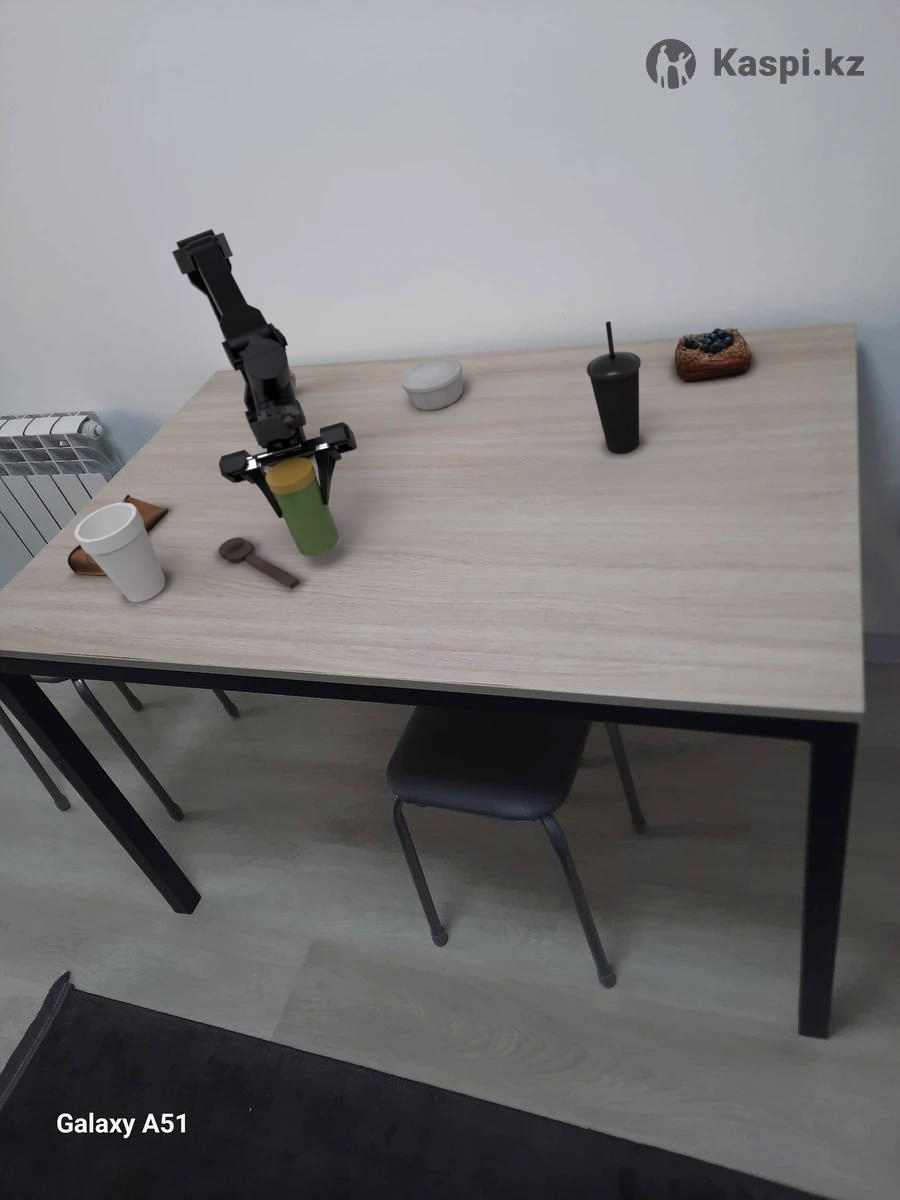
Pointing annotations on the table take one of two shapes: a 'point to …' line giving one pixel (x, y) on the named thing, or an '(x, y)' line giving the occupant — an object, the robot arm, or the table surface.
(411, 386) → the ramekin
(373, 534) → the table surface
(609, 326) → the drinking cup
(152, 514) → the sunglasses case
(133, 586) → the foam cup
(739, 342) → the pastry
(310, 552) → the pickle jar
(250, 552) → the spoon
